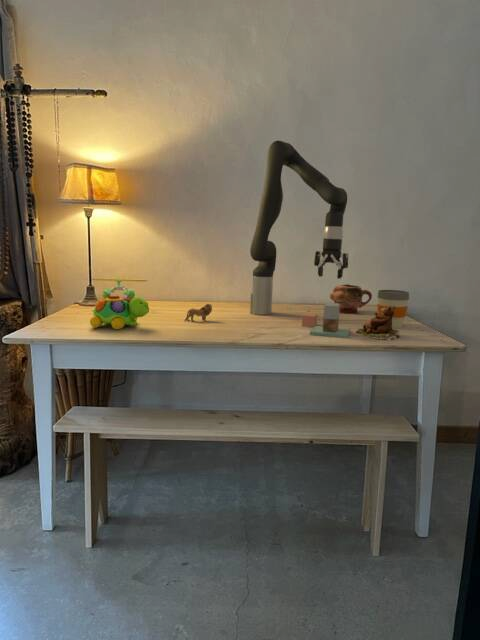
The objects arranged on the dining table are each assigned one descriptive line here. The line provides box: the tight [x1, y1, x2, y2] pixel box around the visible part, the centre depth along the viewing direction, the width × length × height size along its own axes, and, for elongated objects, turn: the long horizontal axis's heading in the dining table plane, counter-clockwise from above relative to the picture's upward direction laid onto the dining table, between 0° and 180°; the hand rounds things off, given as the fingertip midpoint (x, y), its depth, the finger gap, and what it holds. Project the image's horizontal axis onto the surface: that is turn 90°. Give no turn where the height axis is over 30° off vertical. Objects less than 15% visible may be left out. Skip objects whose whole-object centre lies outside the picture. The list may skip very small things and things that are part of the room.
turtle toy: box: [89, 294, 150, 330], centre depth 189 cm, size 17×23×12 cm
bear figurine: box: [355, 306, 401, 341], centre depth 184 cm, size 14×15×12 cm
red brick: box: [301, 312, 318, 328], centre depth 199 cm, size 5×7×5 cm
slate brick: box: [323, 302, 340, 319], centre depth 185 cm, size 5×7×5 cm
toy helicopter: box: [91, 278, 148, 300], centre depth 224 cm, size 25×9×15 cm, turn 93°
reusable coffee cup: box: [376, 289, 410, 329], centre depth 201 cm, size 13×13×15 cm
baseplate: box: [309, 325, 351, 339], centre depth 186 cm, size 14×12×1 cm
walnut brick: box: [322, 316, 340, 332], centre depth 185 cm, size 5×7×5 cm
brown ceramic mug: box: [329, 283, 373, 315], centre depth 230 cm, size 20×12×14 cm, turn 95°
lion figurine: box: [184, 303, 213, 323], centre depth 202 cm, size 12×4×7 cm, turn 110°
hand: (329, 277), depth 200 cm, fingers open, 8 cm apart
